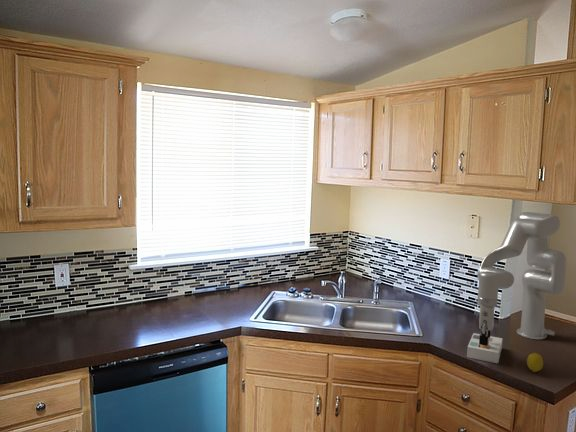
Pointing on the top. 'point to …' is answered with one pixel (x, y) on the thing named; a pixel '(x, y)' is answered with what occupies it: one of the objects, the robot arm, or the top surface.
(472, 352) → the socket block
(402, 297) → the top surface
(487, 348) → the light wood cylinder
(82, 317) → the top surface
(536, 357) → the lemon
